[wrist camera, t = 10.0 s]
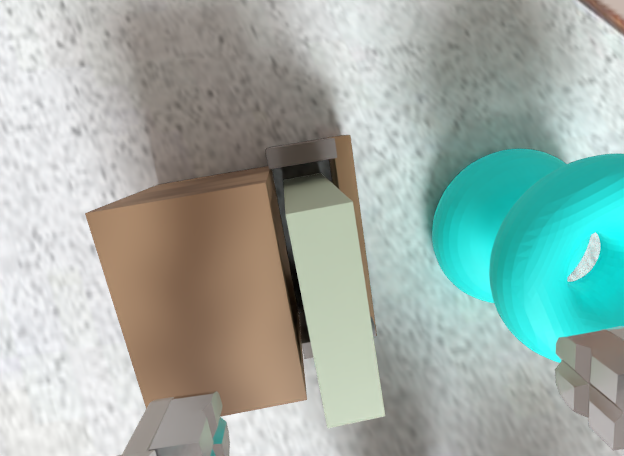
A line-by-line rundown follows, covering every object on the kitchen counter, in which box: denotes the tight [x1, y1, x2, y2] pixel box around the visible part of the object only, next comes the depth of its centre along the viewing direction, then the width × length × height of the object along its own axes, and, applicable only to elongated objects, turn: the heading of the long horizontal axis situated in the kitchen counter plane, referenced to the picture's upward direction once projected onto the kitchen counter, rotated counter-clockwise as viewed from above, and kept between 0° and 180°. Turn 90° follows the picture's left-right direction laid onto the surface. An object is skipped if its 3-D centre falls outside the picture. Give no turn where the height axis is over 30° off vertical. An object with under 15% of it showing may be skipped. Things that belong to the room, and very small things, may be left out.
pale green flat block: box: [283, 173, 385, 428], centre depth 20 cm, size 3×9×11 cm, turn 10°
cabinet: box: [85, 135, 377, 416], centre depth 20 cm, size 12×12×9 cm
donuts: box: [432, 149, 624, 363], centre depth 21 cm, size 10×10×10 cm
